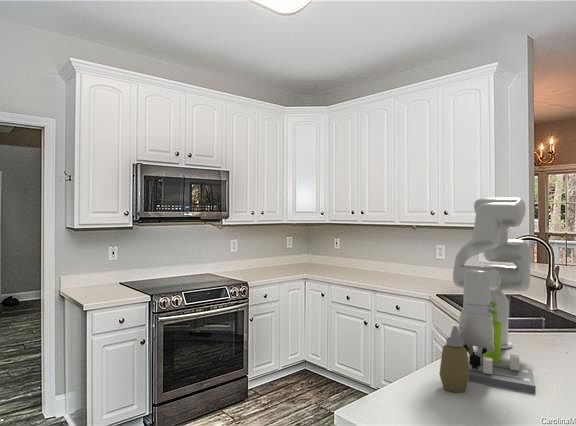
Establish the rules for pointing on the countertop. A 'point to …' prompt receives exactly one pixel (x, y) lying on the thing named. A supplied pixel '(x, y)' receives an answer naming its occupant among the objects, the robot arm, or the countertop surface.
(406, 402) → the countertop surface
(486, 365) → the block
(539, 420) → the countertop surface
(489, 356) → the soap dispenser
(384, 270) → the countertop surface
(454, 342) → the squeeze bottle
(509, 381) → the slider switch panel
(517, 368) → the block
